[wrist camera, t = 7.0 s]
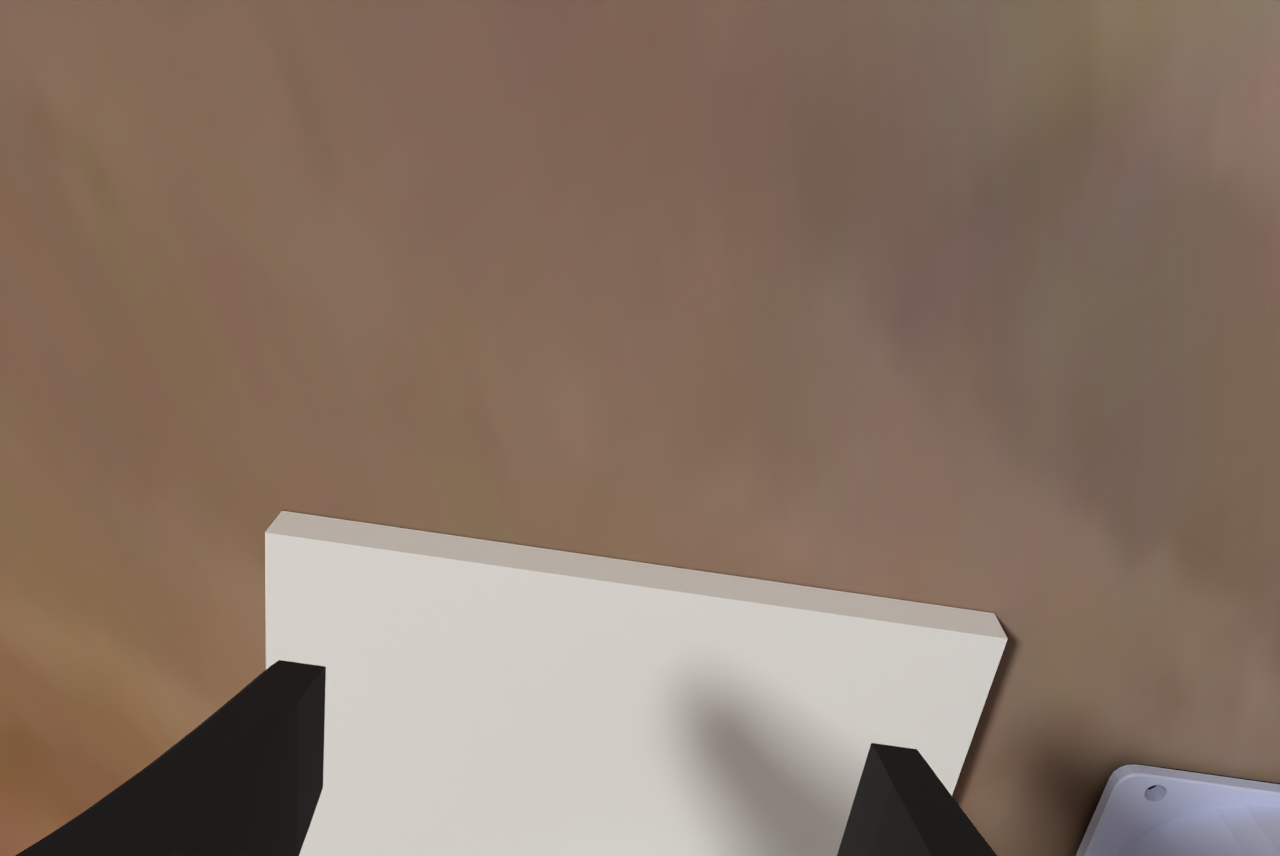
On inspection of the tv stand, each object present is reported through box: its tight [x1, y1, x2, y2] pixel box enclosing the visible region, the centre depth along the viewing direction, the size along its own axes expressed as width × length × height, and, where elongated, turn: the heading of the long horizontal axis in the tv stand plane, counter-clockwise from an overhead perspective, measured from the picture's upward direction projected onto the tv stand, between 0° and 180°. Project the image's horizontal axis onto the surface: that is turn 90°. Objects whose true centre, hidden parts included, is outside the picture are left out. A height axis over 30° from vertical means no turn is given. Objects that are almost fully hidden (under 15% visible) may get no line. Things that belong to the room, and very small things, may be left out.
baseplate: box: [265, 511, 1008, 856], centre depth 25 cm, size 16×17×1 cm
